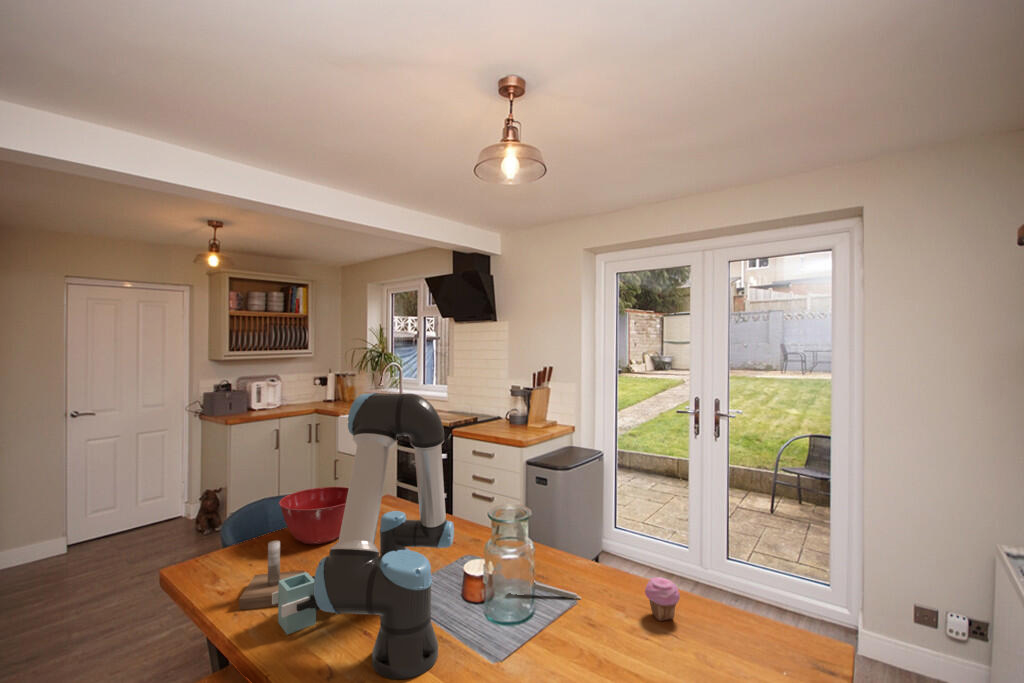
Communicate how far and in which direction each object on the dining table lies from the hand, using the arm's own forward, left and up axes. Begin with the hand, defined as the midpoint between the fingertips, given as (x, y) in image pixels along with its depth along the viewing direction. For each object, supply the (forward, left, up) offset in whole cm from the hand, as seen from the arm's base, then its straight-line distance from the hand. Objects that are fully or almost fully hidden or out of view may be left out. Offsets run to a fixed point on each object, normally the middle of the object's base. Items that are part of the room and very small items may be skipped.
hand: (277, 605), depth 122 cm
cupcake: (-15, -100, -7) cm, 101 cm away
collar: (+2, -4, -7) cm, 8 cm away
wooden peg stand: (+19, +6, -7) cm, 21 cm away
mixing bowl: (+60, 0, -7) cm, 61 cm away
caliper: (+2, -72, -7) cm, 73 cm away
